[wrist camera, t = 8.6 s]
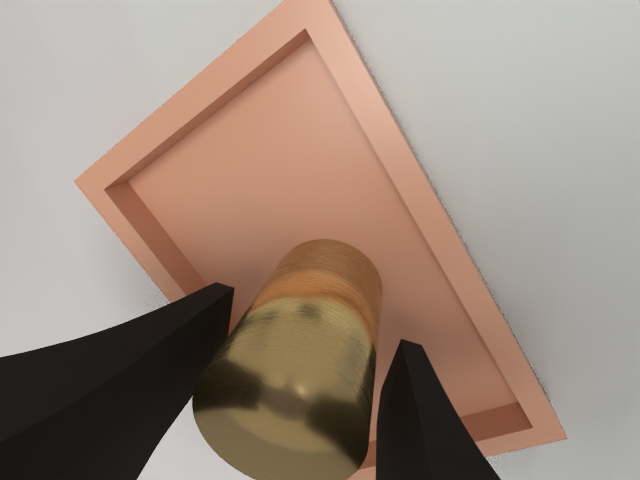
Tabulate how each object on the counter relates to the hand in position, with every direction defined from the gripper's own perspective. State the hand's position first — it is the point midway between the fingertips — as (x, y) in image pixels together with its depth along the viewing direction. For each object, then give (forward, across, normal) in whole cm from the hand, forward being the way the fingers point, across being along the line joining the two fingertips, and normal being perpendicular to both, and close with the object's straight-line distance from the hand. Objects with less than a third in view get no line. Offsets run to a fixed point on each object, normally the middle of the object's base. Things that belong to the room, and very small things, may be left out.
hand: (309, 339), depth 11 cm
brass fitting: (+3, 0, 0) cm, 3 cm away
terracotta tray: (+3, 0, 0) cm, 3 cm away
